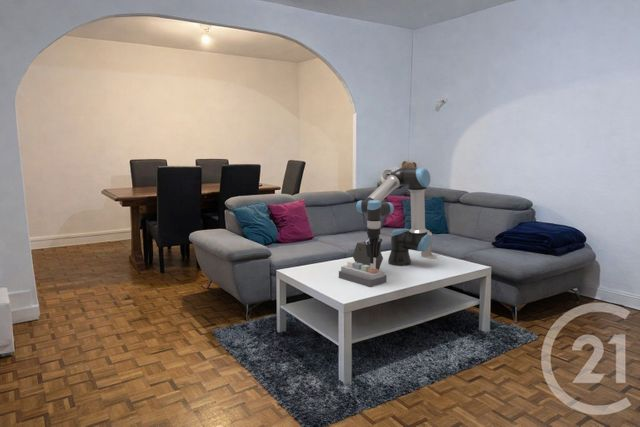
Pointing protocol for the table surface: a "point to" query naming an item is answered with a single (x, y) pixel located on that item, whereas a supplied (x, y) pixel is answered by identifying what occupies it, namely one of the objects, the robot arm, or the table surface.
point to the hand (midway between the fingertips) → (372, 268)
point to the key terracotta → (373, 270)
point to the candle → (428, 252)
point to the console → (362, 276)
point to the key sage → (365, 268)
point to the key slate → (358, 266)
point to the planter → (365, 255)
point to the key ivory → (351, 264)
